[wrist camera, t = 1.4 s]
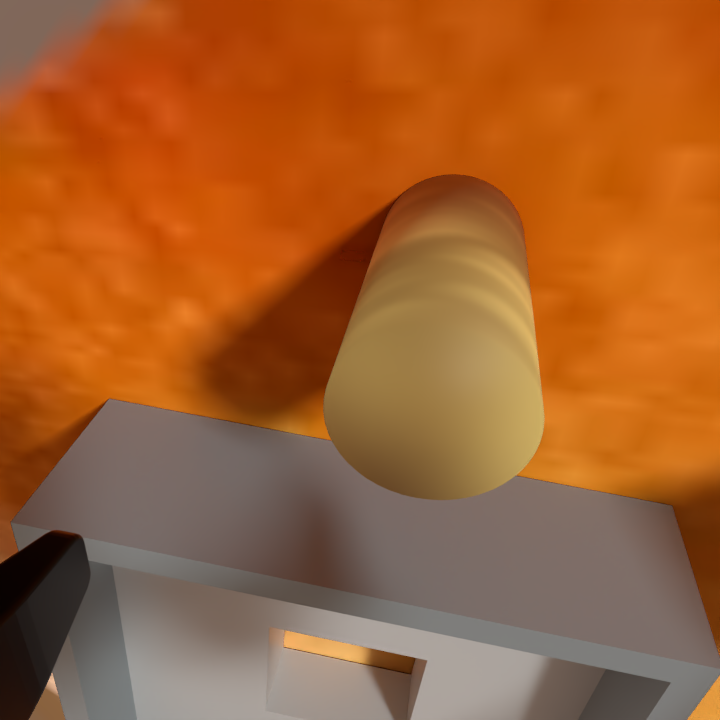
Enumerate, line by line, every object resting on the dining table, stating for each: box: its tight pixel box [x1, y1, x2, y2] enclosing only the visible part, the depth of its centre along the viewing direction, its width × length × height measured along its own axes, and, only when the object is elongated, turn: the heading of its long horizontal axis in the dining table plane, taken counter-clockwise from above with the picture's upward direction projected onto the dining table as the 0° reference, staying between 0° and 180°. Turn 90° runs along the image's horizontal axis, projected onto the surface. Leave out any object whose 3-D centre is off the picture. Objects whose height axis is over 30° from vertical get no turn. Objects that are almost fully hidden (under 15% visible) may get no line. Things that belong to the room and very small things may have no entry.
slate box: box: [11, 399, 720, 720], centre depth 26 cm, size 20×20×6 cm
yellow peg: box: [323, 174, 544, 500], centre depth 15 cm, size 4×4×8 cm
